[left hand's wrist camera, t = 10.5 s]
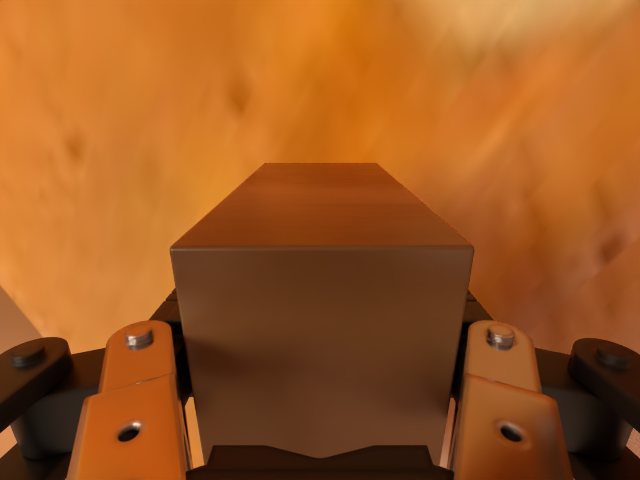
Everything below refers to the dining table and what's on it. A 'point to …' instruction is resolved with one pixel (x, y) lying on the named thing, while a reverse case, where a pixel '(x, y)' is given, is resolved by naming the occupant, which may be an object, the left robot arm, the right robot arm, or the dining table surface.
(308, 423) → the box
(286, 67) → the dining table surface
